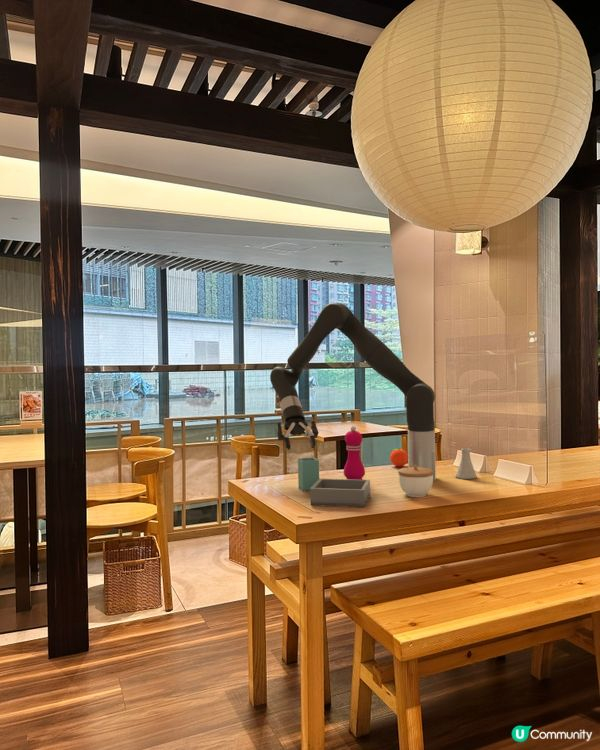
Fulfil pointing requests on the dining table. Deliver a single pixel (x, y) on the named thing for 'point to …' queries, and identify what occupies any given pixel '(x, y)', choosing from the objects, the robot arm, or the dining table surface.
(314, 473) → the teal crate
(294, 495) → the dining table surface
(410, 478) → the lidded jar
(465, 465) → the flask
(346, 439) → the pepper mill
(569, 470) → the dining table surface
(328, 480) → the tray
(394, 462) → the clementine
